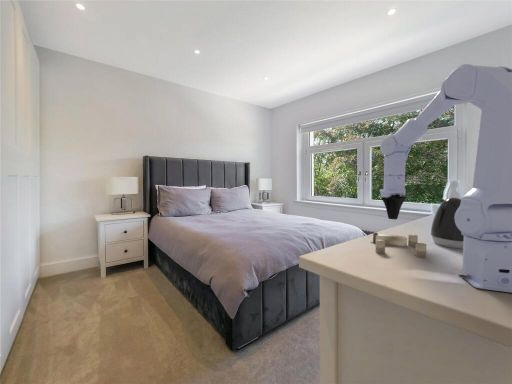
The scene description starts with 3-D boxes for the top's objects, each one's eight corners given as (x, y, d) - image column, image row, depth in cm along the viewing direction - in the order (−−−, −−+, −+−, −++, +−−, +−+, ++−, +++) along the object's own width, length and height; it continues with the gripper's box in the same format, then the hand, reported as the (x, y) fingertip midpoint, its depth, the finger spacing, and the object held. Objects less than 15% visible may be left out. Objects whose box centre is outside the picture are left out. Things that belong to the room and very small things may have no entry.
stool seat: (433, 265, 55) (434, 247, 55) (372, 258, 60) (373, 242, 59) (415, 248, 68) (416, 234, 68) (367, 244, 73) (367, 230, 73)
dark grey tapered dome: (456, 244, 73) (458, 196, 72) (485, 254, 63) (488, 199, 62) (422, 243, 74) (424, 196, 73) (445, 253, 64) (447, 198, 63)
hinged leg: (373, 243, 69) (373, 233, 69) (372, 241, 71) (372, 232, 71) (406, 246, 66) (407, 235, 66) (405, 244, 68) (405, 234, 68)
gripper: (389, 176, 80) (388, 215, 81) (370, 175, 71) (369, 219, 71) (413, 175, 74) (411, 217, 75) (396, 175, 65) (394, 223, 66)
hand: (392, 218), depth 73 cm, fingers closed
